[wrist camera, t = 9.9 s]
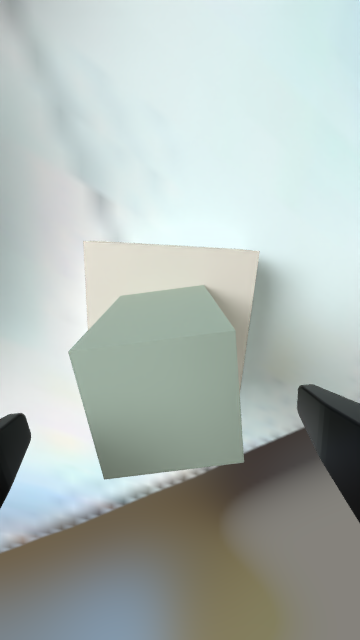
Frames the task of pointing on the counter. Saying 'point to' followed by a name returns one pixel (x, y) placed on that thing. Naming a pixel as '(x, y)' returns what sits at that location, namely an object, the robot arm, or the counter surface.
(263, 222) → the counter surface
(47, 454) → the counter surface
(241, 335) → the cream block
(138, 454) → the sage block
